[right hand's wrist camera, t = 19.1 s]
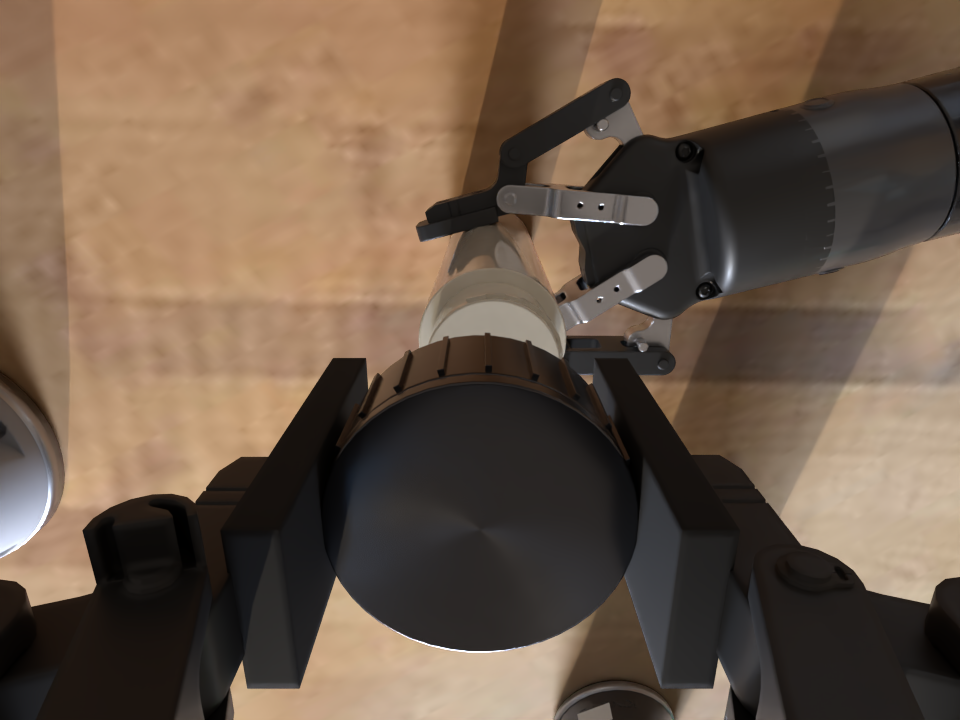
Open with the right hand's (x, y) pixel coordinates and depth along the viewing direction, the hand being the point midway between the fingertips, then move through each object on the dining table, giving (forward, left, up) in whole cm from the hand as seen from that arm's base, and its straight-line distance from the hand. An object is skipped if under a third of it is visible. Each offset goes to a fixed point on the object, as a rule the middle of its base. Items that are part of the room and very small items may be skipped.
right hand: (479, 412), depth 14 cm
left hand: (-1, +2, -16) cm, 16 cm away
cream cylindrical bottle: (0, 0, -22) cm, 22 cm away
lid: (0, 0, +4) cm, 4 cm away
